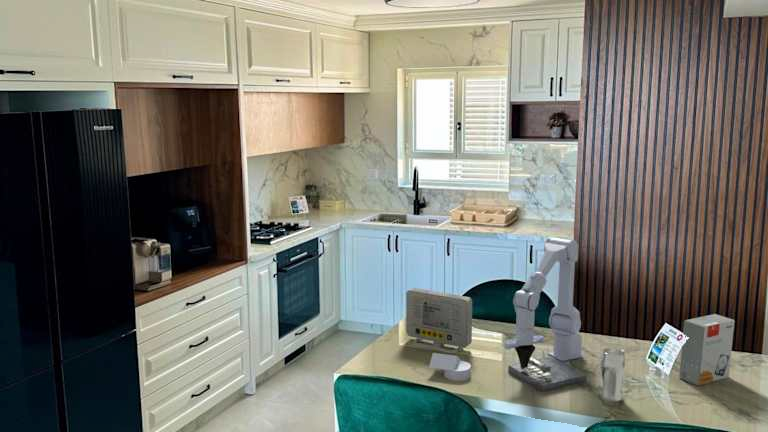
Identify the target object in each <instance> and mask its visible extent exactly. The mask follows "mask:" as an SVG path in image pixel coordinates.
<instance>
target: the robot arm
mask: <svg viewBox="0 0 768 432" xmlns="http://www.w3.org/2000/svg"><path fill="white" fill-rule="evenodd" d="M543 253H544V254H543V256H542V258H541V259H540V262H539V264H538V267H537V269H536V271H535V272H532V273H530V275H529V276H528V278H527V280H526V281H525V283H524V284H523V286H522V288H521V289H520V290H518V291H516V292H515V294H514V296H513V300H512V304H513V306H514V311H515V313H516V314H515V315H516V317H515V318H516V319H515V321H516V323H515V324H516V325H515V336H514V337H515V338H513V339H510V340H508V341H505V342H504V349H505V350H508V351H510V350H511V349H514V350H515V352H516V354H517V357H518V360H519V363H520V365H521V366H522V367H524V368H525V367H527V366H528V363H529V360H530V357H532V355H533V354H534V352H535V351H536V346H535V345H534V344H539V343H541V344H544V343H545V336H543V335H535V310H536V309H537V308H538V306H539V301H540V298H541V293H542V291H543V289H544V288H545V286H546V284H547V282H548V281H547V278H546V277H547V276H548V275H549V273H550V271H551V270H552V269H553V267H554V266H555V265H556V263H557V262H558V263H559V269H558V270H559V271H558V288H557V289H558V290H557V292H558V293H557V305H556V306H554V307H553V308H551V311H550V315H549V319H548V324H549V327H550V328H551V329H552V330H551V332H553V349H552V350H553V351H549V352H547V354H548V355H549V356H552V357H554V358H556V359H558V360H560V361H562V362H565V361H570V360H574V359H579V358H583V354H582V346H583V345H582V344H583V343H582V342H583V339H582V338H583V337H582V334H581V333H580V332H579V331H580V330H581V326H582V321H581V312H580V311H579V310H578V309H577V308H576V307H575V306H574V289H575V288H574V285H575V266H576V265H575V264H576V262H578V259H579V243H578V242H577V241H576V240H575V239H569V238H568V239H567V238H566V239H565V238H559V237H555V236H548V237H547V238H546V240H545V242H544V246H543Z"/></svg>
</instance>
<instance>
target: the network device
mask: <svg viewBox="0 0 768 432" xmlns="http://www.w3.org/2000/svg"><path fill="white" fill-rule="evenodd" d="M405 295H406V296H405V298H406V299H405V302H406V303H405V306H406V308H405V312H406V313H405V314H406V315H405V318H406V321H405V322H406V323H405V325H406V326H405V328H406V329H405V331H406V335H407V336H409V337H411V338H415V339H414V340H413V341H412V344H413V345H414V346H418V347H422V348H427V349H431V350H434V351H440V352H445V353H449V354H455V352H456V353H458V351H459V352H460V351H462V350H463V349H464V348H467V347H468V346H470V345H471V344H472V342H473V341H472V340H473V339H472V338H473V337H472V336H473V333H472V332H473V300H472V298H471V297H470V296H463V295H460V294H452V293H448V292H447V293H446V292H441V291H434V290H429V289H424V288H416V287H413V288H411V289H408V290H407V291H406V292H405ZM422 340H425V341H430V342H433V343H432V344H425V343H419V342H420V341H422ZM443 345H449V346H454V347H457V348H455V349H453V350H452V349H447V348H441V347H442V346H443ZM462 348H463V349H462ZM461 349H462V350H461Z"/></svg>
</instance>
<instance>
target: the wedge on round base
mask: <svg viewBox="0 0 768 432" xmlns="http://www.w3.org/2000/svg"><path fill="white" fill-rule="evenodd" d="M428 367H429V368H432V369H441V370H443V376H444V378H446V379H448V380H451V381H458V382H459V381H460V382H461V381H467V380H469V379H470V378H471V376H472V364H470V362H468V361H465V360H461V359H460V357H459V356H458V355H453V354H446V353H438V352H437V353H436V352H432V355H431V359H430V362H429V366H428ZM468 378H469V379H468Z"/></svg>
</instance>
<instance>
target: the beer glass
mask: <svg viewBox="0 0 768 432" xmlns="http://www.w3.org/2000/svg"><path fill="white" fill-rule="evenodd" d="M601 353H602V354H601V361H600V369H601V370H600V371H601V378H602V390H601V394H600V398H601V399H602V400H604V401H606V402H610V403H618V402H620V401H622V399H623V396H622V395H623V394H622V385H623V384H622V383H623V380H624V376H625V371H626V352H625V350H623V349H621V348H618V347H605V348H603V349H602V352H601Z"/></svg>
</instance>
